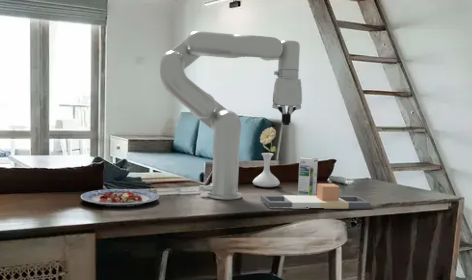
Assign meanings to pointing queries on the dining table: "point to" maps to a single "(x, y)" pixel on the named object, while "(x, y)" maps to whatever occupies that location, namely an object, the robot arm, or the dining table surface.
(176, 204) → the dining table surface
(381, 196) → the dining table surface
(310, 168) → the syrup box
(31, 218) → the dining table surface
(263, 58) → the robot arm
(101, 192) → the ceramic plate
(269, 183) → the flower in vase
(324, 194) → the terracotta block
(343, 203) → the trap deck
